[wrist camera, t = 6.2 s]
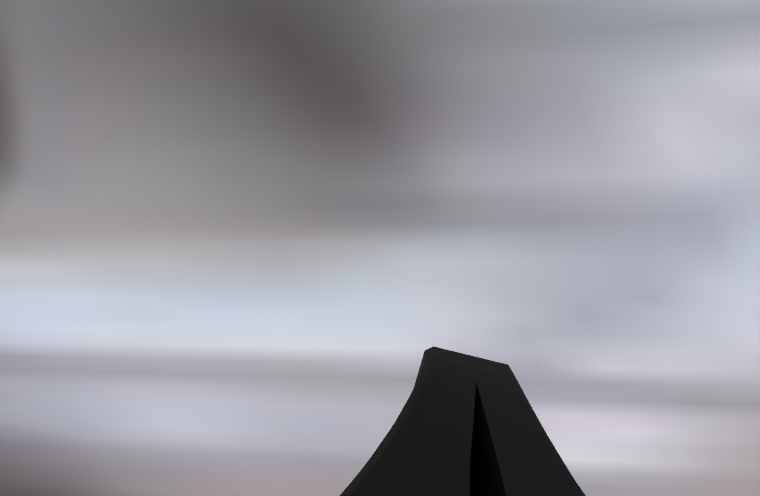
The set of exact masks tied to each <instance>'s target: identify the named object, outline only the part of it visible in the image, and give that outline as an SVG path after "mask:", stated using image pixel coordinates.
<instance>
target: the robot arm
mask: <svg viewBox="0 0 760 496" xmlns="http://www.w3.org/2000/svg"><path fill="white" fill-rule="evenodd" d="M340 496H585V494H584V493H583V492H582V490H581V489H580V487H579V486H578V484H577V483H576V481H575V480H574V478H573V477H572V475H571V474H570V472H569V470H568V469H567V467H566V465H565V464H564V462H563V460H562V459H561V457H560V455H559V454H558V452H557V451H556V449H555V447H554V446H553V444H552V442H551V441H550V439H549V437H548V436H547V434H546V432H545V430H544V429H543V427H542V425H541V423H540V421H539V420H538V418H537V416H536V414H535V412H534V411H533V409H532V407H531V405H530V403H529V402H528V400H527V398H526V396H525V394H524V392H523V390H522V389H521V387H520V385H519V383H518V381H517V379H516V378H515V376H514V374H513V372H512V370H511V369H510V367H509V365H507V364H503V363H499V362H495V361H490V360H486V359H482V358H478V357H474V356H470V355H466V354H462V353H458V352H454V351H449V350H445V349H441V348H437V347H432V348H429V349H427V350H425V351H424V355H423V358H422V362H421V365H420V369H419V372H418V376H417V379H416V383H415V386H414V389H413V391H412V393H411V395H410V397H409V399H408V401H407V402H406V404H405V406H404V408H403V409H402V411H401V413H400V415H399V416H398V418H397V420H396V422H395V423H394V425H393V426H392V428H391V429H390V431H389V432H388V434H387V435H386V437H385V438H384V439H383V441H382V442H381V444H380V445H379V447H378V448H377V449H376V451H375V452H374V454H373V455H372V457H371V458H370V459H369V461H368V462H367V463H366V464H365V466H364V467H363V468H362V470H361V471H360V472H359V473H358V475H357V476H356V477H355V478H354V480H353V481H352V482H351V483H350V484H349V486H348V487H347V488H346V489H345V490H344V491H343V493H342V494H341V495H340Z"/></svg>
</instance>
